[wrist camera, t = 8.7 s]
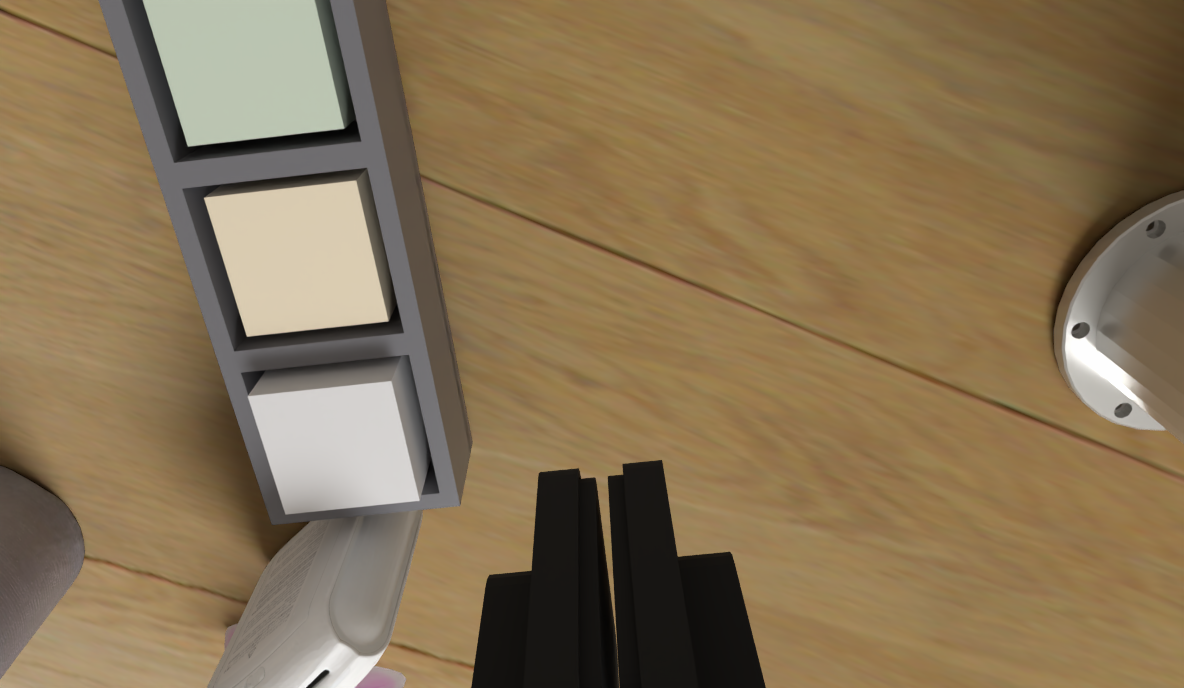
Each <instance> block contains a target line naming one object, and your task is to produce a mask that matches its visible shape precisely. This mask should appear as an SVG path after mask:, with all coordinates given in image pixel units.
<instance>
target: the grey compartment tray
mask: <svg viewBox="0 0 1184 688" xmlns="http://www.w3.org/2000/svg"><path fill="white" fill-rule="evenodd" d="M99 3H100V6H101V9H102V12H103V15H104V18H105V21H106V24H107V27H108V30H109V33H110V36H111V39H112V42H113V45H114V48H115V51H116V54H117V57H118V60H119V64H120V67H121V70H122V73H123V76H124V79H125V82H126V85H127V88H128V91H129V94H130V97H131V100H132V103H133V106H134V109H135V112H136V115H137V118H138V121H139V124H140V127H141V130H142V133H143V136H144V139H145V142H146V145H147V148H148V151H149V154H150V157H151V160H152V163H153V166H154V169H155V172H156V176H157V179H158V182H159V185H160V188H161V191H162V194H163V197H164V200H165V203H166V206H167V209H168V212H169V215H170V218H171V221H172V224H173V227H174V230H175V233H176V236H177V239H178V242H179V245H180V248H181V251H182V254H183V257H184V260H185V263H186V266H187V269H188V272H189V275H190V278H191V281H192V284H193V288H194V291H195V294H196V297H197V300H198V303H199V306H200V309H201V312H202V315H203V318H204V321H205V324H206V327H207V330H208V333H209V336H210V339H211V342H212V345H213V348H214V351H215V354H216V357H217V360H218V363H219V366H220V369H221V372H222V375H223V378H224V381H225V384H226V387H227V390H228V393H229V396H230V400H231V403H232V406H233V409H234V412H235V415H236V418H237V421H238V424H239V427H240V430H241V433H242V436H243V439H244V442H245V445H246V448H247V451H248V454H249V457H250V460H251V463H252V466H253V469H254V472H255V475H256V478H257V481H258V484H259V487H260V490H261V493H262V496H263V499H264V502H265V505H266V508H267V512H268V515H269V518H270V521H271V524H272V525H278V524H288V523H297V522H307V521H317V520H327V519H337V518H346V517H356V516H366V515H376V514H385V513H395V512H405V511H415V510H425V509H434V508H444V507H454V506H460V504H461V499H462V494H463V489H464V483H465V478H466V473H467V468H468V463H469V458H470V453H471V448H472V437H471V432H470V427H469V422H468V417H467V412H466V407H465V401H464V396H463V391H462V386H461V381H460V376H459V371H458V366H457V361H456V356H455V351H454V346H453V341H452V335H451V330H450V325H449V320H448V315H447V310H446V305H445V300H444V295H443V290H442V285H441V280H440V274H439V269H438V264H437V259H436V254H435V249H434V244H433V239H432V234H431V229H430V224H429V219H428V214H427V208H426V203H425V198H424V193H423V188H422V183H421V178H420V173H419V168H418V163H417V158H416V153H415V147H414V142H413V137H412V132H411V127H410V122H409V117H408V112H407V107H406V102H405V97H404V92H403V87H402V81H401V76H400V71H399V66H398V61H397V56H396V51H395V46H394V41H393V36H392V31H391V26H390V20H389V15H388V10H387V5H386V0H330V3H331V7H332V12H333V16H334V21H335V25H336V30H337V34H338V39H339V43H340V48H341V52H342V57H343V61H344V66H345V70H346V75H347V79H348V84H349V88H350V93H351V97H352V101H353V106H354V110H355V115H356V119H355V120H354V121H353V122H351V123H350V124H349V125H348V126H347V127H346V128H344V129H337V130H328V131H319V132H310V133H302V134H293V135H284V136H276V137H267V138H258V139H249V140H241V141H232V142H223V143H214V144H206V145H197V146H188V145H187V142H186V139H185V135H184V132H183V129H182V126H181V122H180V119H179V116H178V113H177V110H176V106H175V103H174V100H173V97H172V93H171V90H170V87H169V84H168V80H167V77H166V74H165V71H164V68H163V64H162V61H161V58H160V55H159V51H158V48H157V45H156V42H155V39H154V35H153V32H152V29H151V26H150V22H149V19H148V16H147V13H146V9H145V6H144V3H143V0H99ZM360 168H367V169H368V173H369V178H370V182H371V187H372V191H373V196H374V200H375V205H376V209H377V214H378V218H379V223H380V227H381V232H382V236H383V241H384V245H385V250H386V254H387V259H388V263H389V268H390V272H391V277H392V281H393V286H394V290H395V295H396V299H397V304H396V307H395V309H394V311H393V313H392V315H391V317H390V319H389V321H387V322H378V323H369V324H360V325H350V326H341V327H332V328H323V329H314V330H304V331H295V332H286V333H277V334H267V335H258V336H249V337H247V335H246V332H245V329H244V326H243V322H242V319H241V316H240V313H239V309H238V306H237V303H236V300H235V297H234V293H233V290H232V287H231V284H230V280H229V277H228V274H227V271H226V268H225V264H224V261H223V258H222V255H221V251H220V248H219V245H218V242H217V238H216V235H215V232H214V229H213V226H212V222H211V219H210V216H209V213H208V209H207V206H206V203H205V200H204V197H206V196H207V195H208V194H210V193H211V192H213V191H214V190H215V189H217V188H218V187H219V186H221V185H222V184H228V183H236V182H245V181H254V180H263V179H272V178H281V177H289V176H298V175H307V174H316V173H325V172H334V171H342V170H351V169H360ZM401 355H409V357H410V362H411V366H412V371H413V375H414V380H415V384H416V389H417V393H418V398H419V402H420V407H421V411H422V416H423V420H424V425H425V429H426V434H427V438H428V443H429V447H430V452H431V456H432V457H431V460H430V464H429V468H428V472H427V475H426V479H425V483H424V487H423V490H422V494H421V498H420V501H413V502H403V503H393V504H384V505H374V506H364V507H354V508H345V509H335V510H325V511H315V512H306V513H296V514H286V515H285V511H284V508H283V505H282V502H281V499H280V496H279V493H278V490H277V486H276V483H275V480H274V477H273V474H272V471H271V468H270V465H269V461H268V458H267V455H266V452H265V449H264V446H263V443H262V440H261V436H260V433H259V430H258V427H257V424H256V421H255V418H254V415H253V411H252V408H251V405H250V402H249V399H248V395H249V394H250V392H251V391H252V389H253V388H254V387H255V385H256V384H257V382H258V381H259V379H260V378H261V377H262V375H263V374H264V372H265V371H266V370H270V369H280V368H289V367H298V366H308V365H317V364H326V363H336V362H345V361H354V360H364V359H373V358H382V357H392V356H401Z"/></svg>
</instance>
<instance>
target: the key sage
mask: <svg viewBox="0 0 1184 688" xmlns="http://www.w3.org/2000/svg"><path fill="white" fill-rule="evenodd" d="M143 3H144V6H145V9H146V13H147V16H148V19H149V22H150V26H151V29H152V32H153V35H154V39H155V42H156V45H157V48H158V51H159V55H160V58H161V61H162V64H163V68H164V71H165V74H166V77H167V80H168V84H169V87H170V90H171V93H172V97H173V100H174V103H175V106H176V110H177V113H178V116H179V119H180V122H181V126H182V129H183V132H184V135H185V139H186V142H187V145H188V146H197V145H206V144H214V143H223V142H232V141H241V140H249V139H258V138H267V137H276V136H284V135H293V134H302V133H310V132H319V131H328V130H337V129H344V128H346V127H347V126H348V125H349V124H350V123H351V122H353V121H354V120H355V119H356V115H355V110H354V106H353V101H352V97H351V93H350V88H349V84H348V79H347V75H346V70H345V66H344V61H343V57H342V52H341V48H340V43H339V39H338V34H337V30H336V25H335V21H334V16H333V12H332V7H331V3H330V0H143Z"/></svg>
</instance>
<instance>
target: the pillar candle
mask: <svg viewBox="0 0 1184 688" xmlns="http://www.w3.org/2000/svg"><path fill="white" fill-rule="evenodd" d="M84 553H85V550H84V540H83V537H82V534H81V529H80V527H79V525H78V522H77V520H76V519H75V518H74V516H73V514H72V513H71V511H70V509H69V508H68V507H67V506H66V505H65V504H64V503H63V502H62V501H61V500H60V499H59V498H57V497H56V496H55V495H53V494H51V493H49V492H48V491H46V490H44V489H43V488H41V487H40V486H38V485H37V484H35V483H33V482H32V481H30V480H28V479H26V478H25V477H23V476H21V475H19V474H17V473H16V472H14V471H12V470H10V469H7V468H5V467H2V466H0V679H1V678H2V676H3V675H4V674H5V672H6V671H7V670H8V668H9V667H10V666H11V664H12V663H13V662H14V660H15V659H16V657H17V656H18V655H19V653H20V652H21V651H22V650H23V648H24V647H25V646H26V644H27V643H28V642H29V640H30V639H31V638H32V636H33V635H34V634H35V632H36V631H37V630H38V629H39V627H40V626H41V625H42V623H43V622H44V621H45V619H46V618H47V617H48V615H49V614H50V613H51V611H52V610H53V608H54V607H55V606H56V605H57V603H58V602H59V600H60V599H61V598H62V597H63V596H64V594H65V593H66V592H67V590H68V589H69V587H70V586H71V585H72V583H73V582H74V580H75V579H76V577H77V575H78V574H79V572H80V569H81V567H82V564H83V560H84Z"/></svg>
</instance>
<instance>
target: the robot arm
mask: <svg viewBox="0 0 1184 688" xmlns="http://www.w3.org/2000/svg"><path fill="white" fill-rule="evenodd" d="M1054 352H1055V356H1056V360H1057V364H1058V367H1059V371H1060V373H1061V374H1062V376H1063V378H1064V380H1065V382H1066V383H1067V385H1068V387H1069V388H1070V389H1071V390H1072V391H1073V393H1074V394H1075V395H1076V396H1077V397H1078V398H1079V399H1080V400H1081V401H1082V402H1083V403H1084V404H1086V405H1087V406H1088V407H1089V408H1090V409H1092V410H1093V411H1094V412H1095V413H1097V414H1098V415H1099V416H1101V417H1103V418H1105V419H1107V420H1109V421H1111V422H1113V423H1115V424H1119V425H1123V426H1127V427H1130V428H1134V429H1141V430H1157V431H1162V430H1167V431H1169V432H1170V433H1171V434H1172V435H1173V436H1175V437H1176V438H1177V439H1178V440H1179V441H1181V442H1182V443H1183V444H1184V190H1183V191H1180V192H1176V193H1173V194H1170V195H1167V196H1165V197H1163V198H1161V199H1159V200H1157V201H1154V202H1152V203H1150V204H1148V205H1146V206H1144V207H1142V208H1141V209H1139V210H1138V211H1136V212H1134V213H1133V214H1131V215H1130V216H1128V217H1127V218H1125V219H1124V220H1122V221H1121V222H1119V223H1118V224H1117V225H1116V226H1115V227H1114V228H1113V229H1111V230H1110V231H1109V232H1108V233H1107V234H1106V235H1105V236H1103V237H1102V238H1101V239H1100V240H1099V241H1098V242H1097V243H1096V244H1095V246H1094V247H1093V248H1092V249H1091V250H1090V252H1089V253H1088V254H1087V255H1086V256H1085V257H1084V259H1083V260H1082V261H1081V262H1080V264H1079V266H1078V267H1077V269H1076V271H1075V272H1074V274H1073V275H1072V277H1071V279H1070V280H1069V282H1068V284H1067V286H1066V288H1065V291H1064V293H1063V296H1062V299H1061V301H1060V304H1059V306H1058V310H1057V315H1056V321H1055V326H1054ZM608 489H609V506H610V524H611V542H612V560H613V578H614V595H615V613H616V631H617V644H616V634H615V625H614V617H613V609H612V601H611V593H610V586H609V578H608V570H607V562H606V554H605V546H604V538H603V531H602V523H601V515H600V507H599V499H598V491H597V484H596V478H585V479H581V476H580V471H579V468H578V469H568V470H558V471H548V472H540V473H539V477H538V489H537V503H536V517H535V531H534V545H533V559H532V571H526V572H515V573H505V574H495V575H489V577H488V579H487V583H486V588H485V595H484V602H483V609H482V616H481V623H480V630H479V637H478V644H477V651H476V659H475V666H474V673H473V680H472V687H471V688H619V683H620V688H766V687H765V683H764V679H763V675H762V671H761V667H760V663H759V659H758V655H757V651H756V647H755V643H754V639H753V635H752V631H751V627H750V623H749V619H748V615H747V611H746V607H745V603H744V599H743V595H742V591H741V587H740V583H739V579H738V575H737V571H736V567H735V563H734V560H733V556H732V554H731V552H723V553H713V554H703V555H692V556H682V557H678V556H677V550H676V544H675V538H674V531H673V525H672V519H671V513H670V507H669V500H668V494H667V488H666V482H665V476H664V469H663V463H662V460H658V461H648V462H638V463H628V464H623V475H615V476H608ZM617 649H618V658H617ZM618 667H619V676H618Z"/></svg>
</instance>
